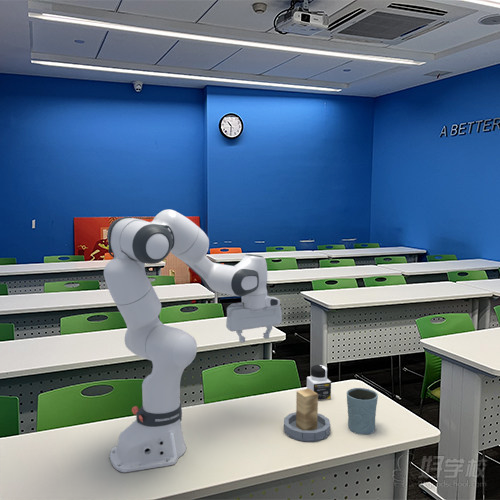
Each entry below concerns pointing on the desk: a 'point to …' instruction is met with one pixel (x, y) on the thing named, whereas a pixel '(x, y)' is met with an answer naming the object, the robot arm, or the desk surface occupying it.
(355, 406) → the blue-grey cup
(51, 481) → the desk surface
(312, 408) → the oak block
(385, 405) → the desk surface
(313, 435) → the bowl
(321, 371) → the medicine bottle
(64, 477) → the desk surface
